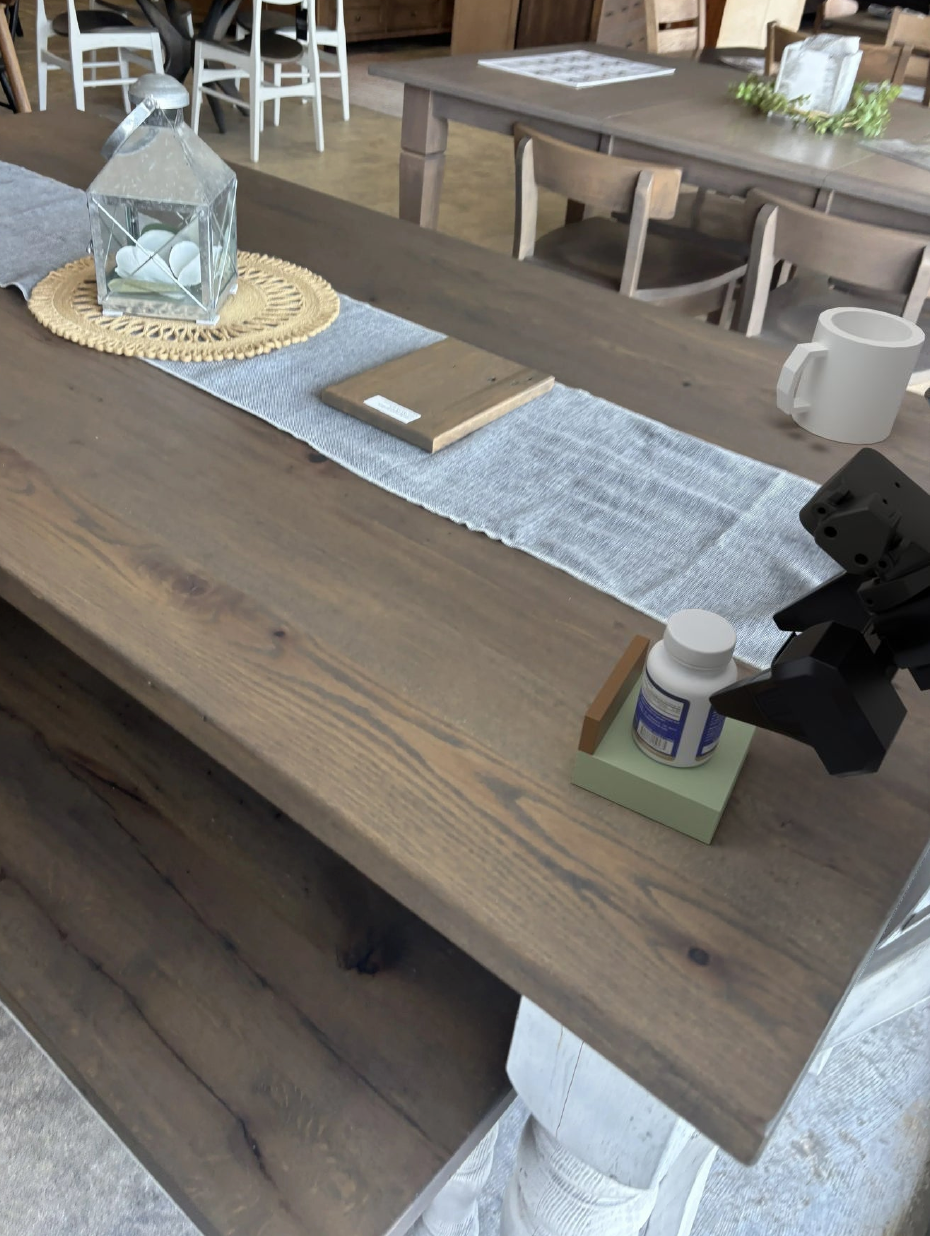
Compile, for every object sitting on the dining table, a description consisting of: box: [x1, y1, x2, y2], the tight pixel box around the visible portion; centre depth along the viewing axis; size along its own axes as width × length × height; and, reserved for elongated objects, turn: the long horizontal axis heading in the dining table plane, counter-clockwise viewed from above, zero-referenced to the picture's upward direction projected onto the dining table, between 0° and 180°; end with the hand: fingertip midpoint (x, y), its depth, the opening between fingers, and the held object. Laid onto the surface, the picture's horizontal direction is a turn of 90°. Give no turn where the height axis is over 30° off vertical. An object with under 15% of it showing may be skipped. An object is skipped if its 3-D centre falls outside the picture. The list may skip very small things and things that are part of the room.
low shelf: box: [570, 633, 758, 845], centre depth 63 cm, size 9×9×6 cm
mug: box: [776, 306, 926, 445], centre depth 103 cm, size 14×10×11 cm
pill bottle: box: [632, 608, 739, 767], centre depth 60 cm, size 5×5×9 cm
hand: (746, 661), depth 57 cm, fingers open, 9 cm apart
